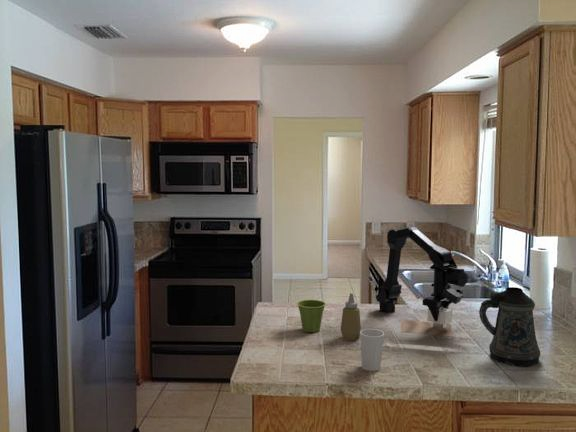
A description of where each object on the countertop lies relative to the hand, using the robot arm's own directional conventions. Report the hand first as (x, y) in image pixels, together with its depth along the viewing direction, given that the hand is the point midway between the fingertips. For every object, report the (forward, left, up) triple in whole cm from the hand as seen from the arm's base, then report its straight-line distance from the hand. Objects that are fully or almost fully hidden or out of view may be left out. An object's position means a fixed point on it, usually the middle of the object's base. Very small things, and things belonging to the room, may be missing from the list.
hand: (439, 319), depth 203 cm
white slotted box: (0, 0, -1) cm, 1 cm away
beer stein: (+23, -22, -6) cm, 32 cm away
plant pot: (-51, -10, -6) cm, 52 cm away
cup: (-24, -42, -6) cm, 49 cm away
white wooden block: (0, 0, -4) cm, 4 cm away
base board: (-5, 0, -6) cm, 7 cm away
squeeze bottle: (-34, -16, -6) cm, 38 cm away
